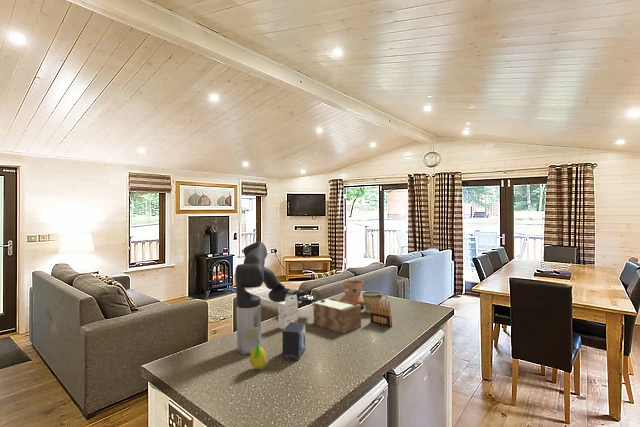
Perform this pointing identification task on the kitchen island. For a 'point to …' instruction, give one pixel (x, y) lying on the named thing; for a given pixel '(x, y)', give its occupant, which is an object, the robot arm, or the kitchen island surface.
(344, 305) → the lid
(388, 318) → the ammunition clip
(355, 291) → the ceramic jug
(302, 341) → the small box
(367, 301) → the ceramic cup
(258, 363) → the lemon
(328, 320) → the wooden box
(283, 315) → the ink cartridge box
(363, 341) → the kitchen island surface
